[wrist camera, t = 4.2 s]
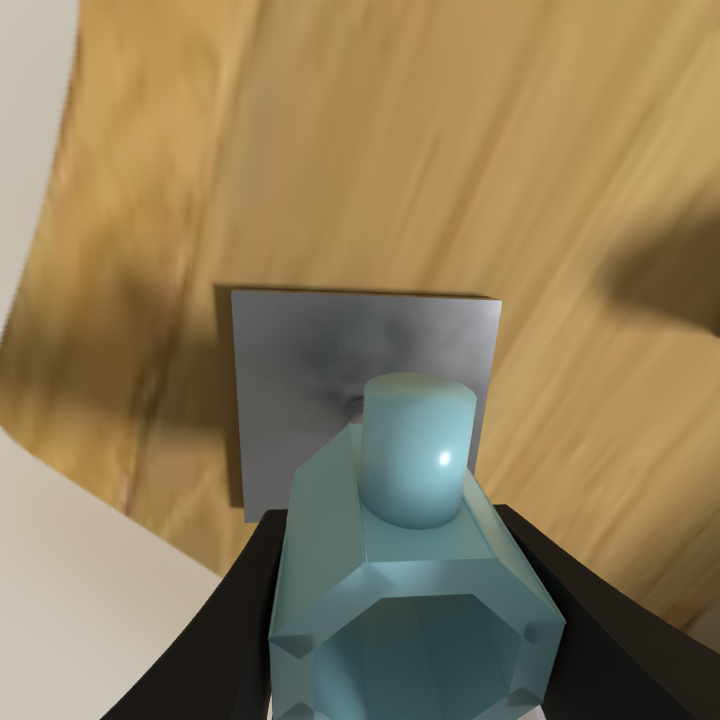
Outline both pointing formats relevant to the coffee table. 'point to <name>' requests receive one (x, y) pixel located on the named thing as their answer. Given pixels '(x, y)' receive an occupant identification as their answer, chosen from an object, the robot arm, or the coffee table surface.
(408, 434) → the elbow collar
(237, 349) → the base
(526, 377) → the coffee table surface
